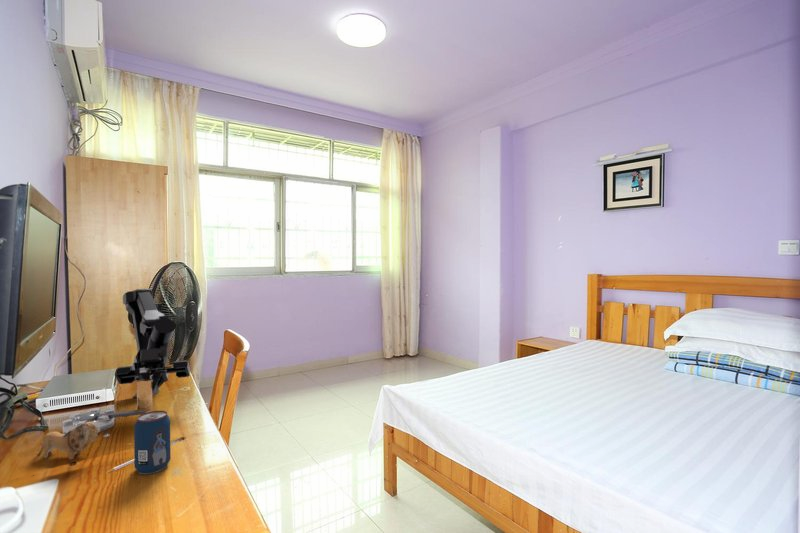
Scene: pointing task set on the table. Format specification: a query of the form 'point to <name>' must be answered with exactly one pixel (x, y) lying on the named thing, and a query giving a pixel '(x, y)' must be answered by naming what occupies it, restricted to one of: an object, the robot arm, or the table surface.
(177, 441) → the pencil
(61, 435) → the lion figurine
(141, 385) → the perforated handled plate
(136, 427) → the soda can
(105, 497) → the table surface
